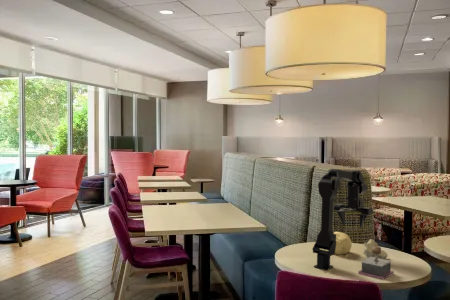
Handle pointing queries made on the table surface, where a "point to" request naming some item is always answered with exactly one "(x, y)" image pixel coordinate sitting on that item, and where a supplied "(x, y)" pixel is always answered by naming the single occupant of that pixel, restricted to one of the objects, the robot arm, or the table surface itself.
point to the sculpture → (342, 243)
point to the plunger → (376, 252)
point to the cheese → (368, 250)
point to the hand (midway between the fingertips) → (352, 226)
